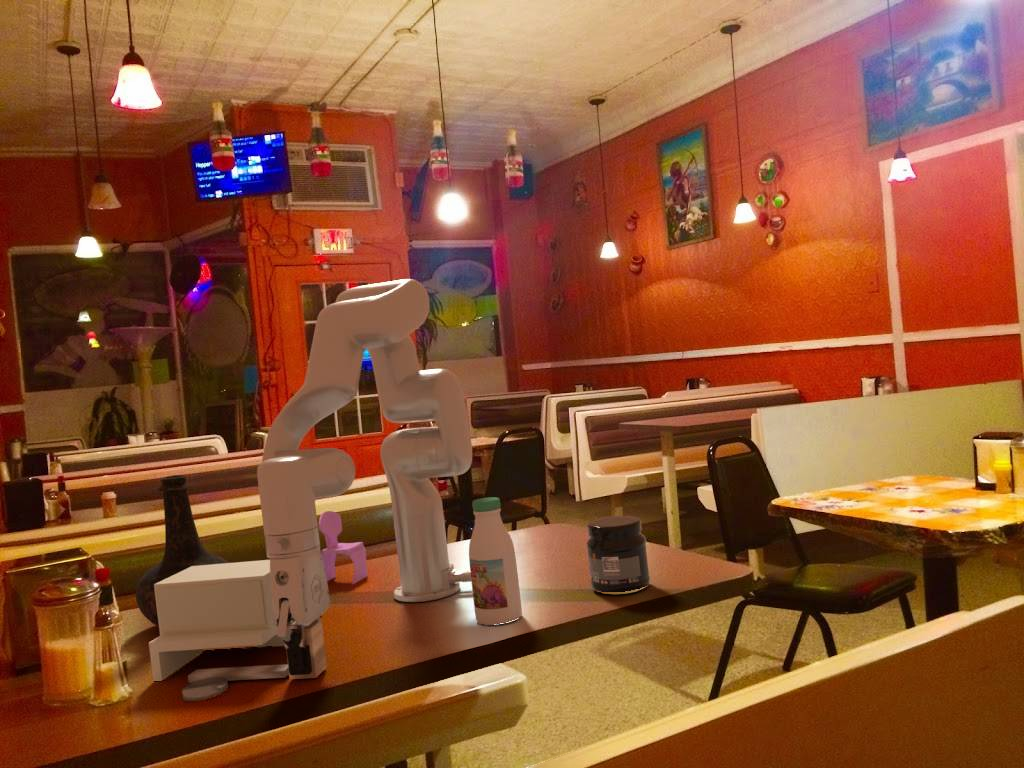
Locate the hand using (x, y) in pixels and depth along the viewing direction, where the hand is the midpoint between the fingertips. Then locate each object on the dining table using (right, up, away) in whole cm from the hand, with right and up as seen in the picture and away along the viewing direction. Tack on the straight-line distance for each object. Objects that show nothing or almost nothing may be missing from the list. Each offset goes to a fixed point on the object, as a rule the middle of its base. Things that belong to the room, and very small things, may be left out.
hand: (307, 666), depth 116 cm
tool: (-8, -2, +1) cm, 8 cm away
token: (-14, -3, -2) cm, 14 cm away
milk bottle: (+27, +2, +16) cm, 32 cm away
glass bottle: (-31, -5, +36) cm, 48 cm away
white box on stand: (-15, -3, +10) cm, 18 cm away
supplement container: (+49, +4, +26) cm, 56 cm away
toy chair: (-6, -1, +55) cm, 56 cm away
